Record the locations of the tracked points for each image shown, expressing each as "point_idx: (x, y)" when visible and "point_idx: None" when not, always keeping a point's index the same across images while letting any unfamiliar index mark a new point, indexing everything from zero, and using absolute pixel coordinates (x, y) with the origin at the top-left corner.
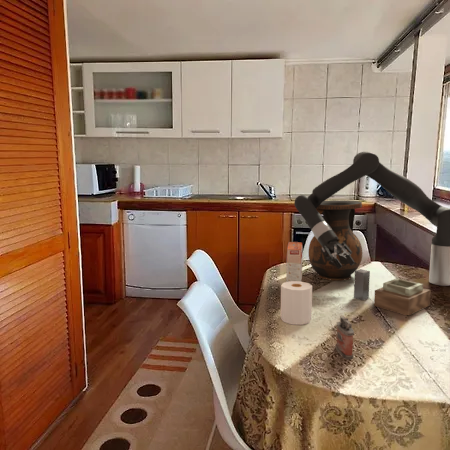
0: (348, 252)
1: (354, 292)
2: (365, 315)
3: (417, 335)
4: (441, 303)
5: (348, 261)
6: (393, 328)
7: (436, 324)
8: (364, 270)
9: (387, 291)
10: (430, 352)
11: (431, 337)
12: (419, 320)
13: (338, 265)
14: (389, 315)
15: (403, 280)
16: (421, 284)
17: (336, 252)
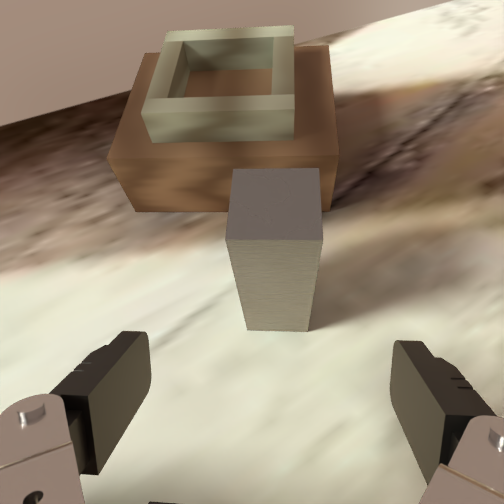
0: (8, 433)
1: (309, 316)
2: (461, 179)
3: (440, 46)
4: (115, 101)
5: (125, 419)
6: (463, 88)
7: None
8: (245, 199)
9: (304, 118)
10: (499, 6)
11: (417, 30)
12: None
13: (451, 368)
14: (374, 136)
15: (165, 83)
16: (179, 31)
17: (444, 487)
